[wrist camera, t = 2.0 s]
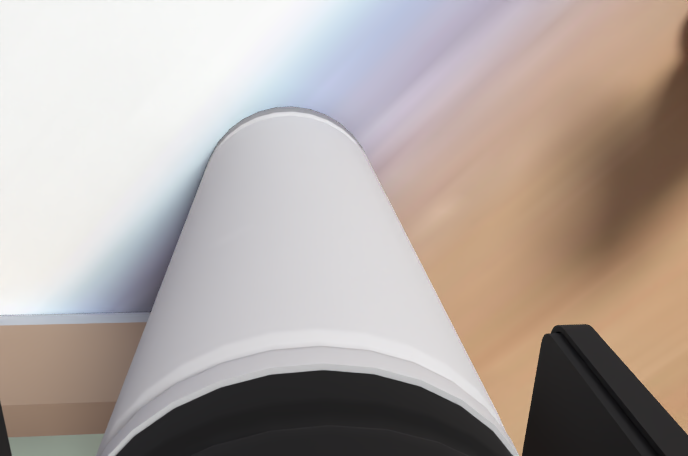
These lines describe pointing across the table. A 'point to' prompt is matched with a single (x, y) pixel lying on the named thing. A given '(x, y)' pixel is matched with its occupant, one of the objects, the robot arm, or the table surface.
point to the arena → (64, 378)
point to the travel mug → (298, 317)
